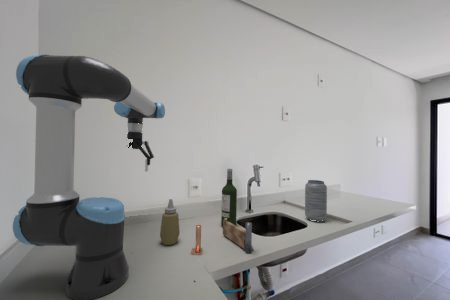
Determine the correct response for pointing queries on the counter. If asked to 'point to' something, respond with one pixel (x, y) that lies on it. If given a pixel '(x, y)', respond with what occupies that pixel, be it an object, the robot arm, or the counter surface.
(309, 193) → the vase
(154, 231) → the counter surface
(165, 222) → the squeeze bottle
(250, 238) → the gate posts
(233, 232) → the gate
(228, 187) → the wine bottle
